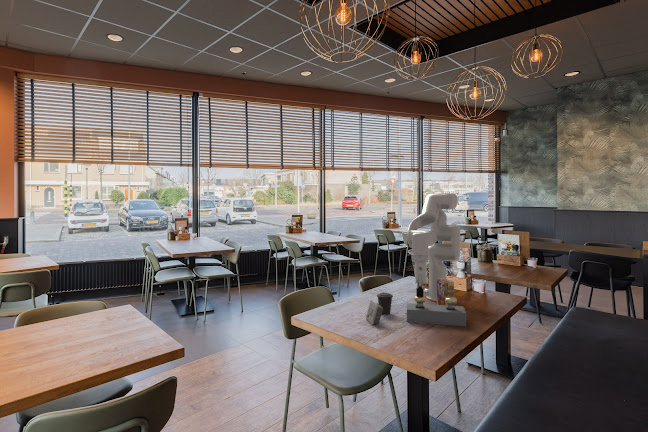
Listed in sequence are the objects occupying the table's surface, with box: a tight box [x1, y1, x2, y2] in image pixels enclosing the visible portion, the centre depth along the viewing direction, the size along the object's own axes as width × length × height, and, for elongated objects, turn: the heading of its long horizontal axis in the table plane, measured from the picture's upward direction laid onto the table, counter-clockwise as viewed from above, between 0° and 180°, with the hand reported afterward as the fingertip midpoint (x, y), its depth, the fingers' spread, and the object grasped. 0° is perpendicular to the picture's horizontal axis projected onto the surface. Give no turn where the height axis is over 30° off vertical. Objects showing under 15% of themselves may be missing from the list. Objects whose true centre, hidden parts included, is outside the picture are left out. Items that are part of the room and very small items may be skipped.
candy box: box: [436, 278, 455, 306], centre depth 186 cm, size 9×4×15 cm, turn 20°
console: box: [406, 302, 467, 327], centre depth 169 cm, size 26×10×6 cm, turn 76°
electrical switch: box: [365, 300, 383, 326], centre depth 169 cm, size 9×5×9 cm, turn 10°
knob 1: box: [414, 295, 426, 308], centre depth 171 cm, size 5×5×6 cm
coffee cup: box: [376, 292, 394, 316], centre depth 181 cm, size 8×8×10 cm
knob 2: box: [445, 296, 458, 310], centre depth 167 cm, size 5×5×6 cm
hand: (419, 296), depth 170 cm, fingers closed
